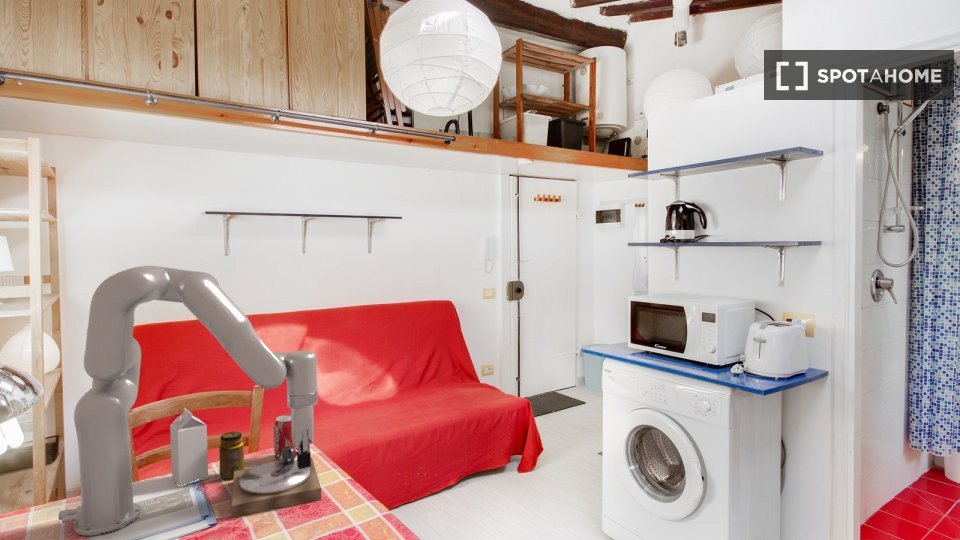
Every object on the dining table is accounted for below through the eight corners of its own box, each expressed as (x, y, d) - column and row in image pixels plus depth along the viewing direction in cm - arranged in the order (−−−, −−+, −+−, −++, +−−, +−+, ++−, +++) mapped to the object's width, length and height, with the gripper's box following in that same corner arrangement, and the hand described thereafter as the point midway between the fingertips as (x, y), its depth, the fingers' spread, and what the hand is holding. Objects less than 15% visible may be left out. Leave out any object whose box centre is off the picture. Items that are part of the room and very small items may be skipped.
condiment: (248, 470, 144) (247, 429, 143) (241, 484, 136) (240, 440, 135) (220, 472, 142) (219, 431, 142) (211, 487, 134) (210, 442, 133)
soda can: (294, 462, 148) (293, 421, 147) (270, 462, 148) (269, 422, 148) (303, 452, 155) (302, 413, 155) (280, 452, 155) (279, 413, 155)
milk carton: (200, 471, 143) (198, 404, 142) (208, 479, 138) (206, 410, 137) (171, 479, 138) (169, 410, 137) (179, 488, 133) (176, 417, 132)
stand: (232, 518, 118) (231, 502, 118) (234, 481, 136) (233, 468, 136) (321, 499, 126) (321, 484, 126) (312, 467, 144) (311, 454, 144)
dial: (292, 496, 122) (291, 475, 121) (225, 493, 123) (224, 472, 123) (320, 465, 138) (320, 447, 138) (261, 463, 140) (261, 445, 140)
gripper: (285, 392, 138) (287, 458, 139) (289, 408, 124) (291, 481, 125) (314, 389, 141) (315, 453, 142) (321, 404, 127) (322, 475, 128)
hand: (304, 466), depth 134 cm, fingers closed
